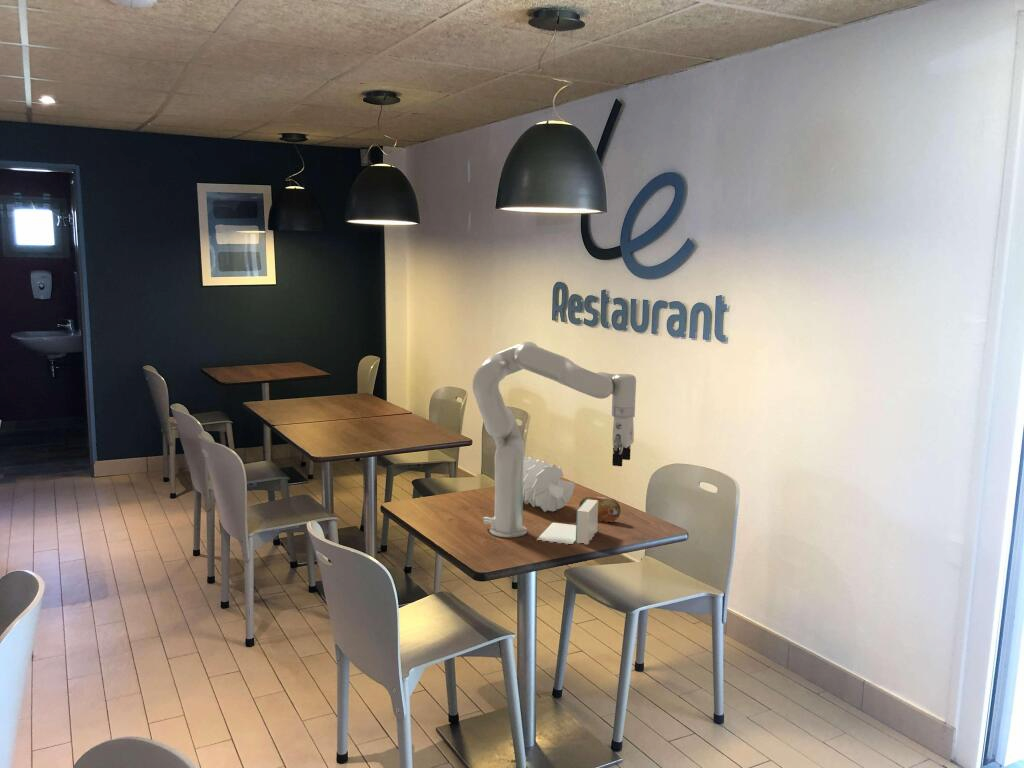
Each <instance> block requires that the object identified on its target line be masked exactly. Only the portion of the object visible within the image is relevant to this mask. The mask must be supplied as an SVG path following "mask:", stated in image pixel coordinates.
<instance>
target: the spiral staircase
mask: <svg viewBox="0 0 1024 768" xmlns="http://www.w3.org/2000/svg"><path fill="white" fill-rule="evenodd" d="M562 470H563V469H562V467H561V466H556V464H554V463H553V462H552V463H550V464H549V463H548V462H547V461H546V460H542V461H540V459H534V458H532V457H531V456H529V457H527V456H526V455H525V454H524V464H523V504H524V505H526V504H527V505H528V504H530V505H531V506H532V507H533V508H535V507H540V508H541V510H542V511H543V512H544V513H547V511H549V512H554V511H556V512H557V510H559V509H562V508H564V507H565V506H567V503H568V501H570V500H571V498H572V497H573V493H574V490H575V486H576V483H575V482H572V481H566V480H562V479H561V478H563V477H564V474H563V471H562Z"/></svg>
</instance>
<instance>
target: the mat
mask: <svg viewBox="0 0 1024 768" xmlns="http://www.w3.org/2000/svg"><path fill="white" fill-rule="evenodd" d="M538 540H542V541H541V542H545V541H549V542H548V543H553V542H557V543H556V544H561V543H565V544H564V545H568V544H573V545H574V543H576V524H567V523H561V522H552V523H551V524H550V525H549V526H548V527H547V528H546V529H545V530H544V531H543V532H542V533H541V534H540V535H539V536H538V537H537V538H536V541H538Z"/></svg>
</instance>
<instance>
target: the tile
mask: <svg viewBox="0 0 1024 768" xmlns="http://www.w3.org/2000/svg"><path fill="white" fill-rule="evenodd" d="M575 520H576V521H575V525H576V541H575V543H576V542H577V543H576V544H580V543H584V544H583V545H589V544H590V542H591V541H592V539H593V538H594V536H595V535H596V534H597V532H598V522H599V521H598V500H590V499H586V501H585V502H584V503H583V504H582V505H581V506H580V507H579V506H578V509H577V510H576V519H575ZM595 533H596V534H595ZM594 534H595V535H594ZM592 537H593V538H592ZM590 540H591V541H590ZM589 541H590V542H589Z"/></svg>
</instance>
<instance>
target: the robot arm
mask: <svg viewBox="0 0 1024 768" xmlns="http://www.w3.org/2000/svg"><path fill="white" fill-rule="evenodd" d="M521 370H526V371H528V372H530V373H533V374H537V375H539V376H542V377H544V378H546V379H548V380H552V381H554V382H557V383H558V384H561V385H563V386H565V387H568V388H570V389H573V390H575V391H577V392H580V393H581V394H585V395H588V396H590V397H592V398H595V399H600V400H601V399H602V400H604V399H607V398H608V397H609V398H610V396H612V399H611V403H612V404H611V417H613V422H612V423H613V426H612V446H613V447H612V466H614V467H623V461H624V460H625V461H629V460H630V461H631V451H632V450H631V449H632V447H631V446H632V445H633V443H634V437H635V436H634V434H635V433H634V431H635V430H634V428H635V427H634V425H635V424H634V418H635V415H636V395H637V394H636V391H637V388H636V387H637V379H636V378H637V377H636V376H635V375H634V374H630V373H608V372H603V371H601V372H594V371H591V370H589V369H586V368H584V367H582V366H580V365H578V364H576V363H574V362H573V361H572V360H571V359H569V358H567V357H565V356H564V355H561V354H557V353H555V352H552V351H550V350H547V349H544V348H542V347H540V346H538V345H537V344H536V343H534V342H532V341H524V342H521V343H518V344H516V345H514V346H512V347H509V348H506V349H505V350H501V351H499V352H497V353H494V354H492V355H490V356H489V357H487V358H486V359H485V360H484V361H483V363H482V364H481V365H480V366H479V367H478V368H477V370H476V372H475V374H474V375H473V379H472V391H473V394H474V399H475V401H476V403H477V407H478V410H479V413H480V416H481V418H482V419H481V420H482V421H483V424H484V427H485V430H486V432H487V434H488V435H489V436H490V437H492V438H493V441H494V444H495V447H496V449H495V453H494V516H492V517H490V516H483V520H482V522H483V524H484V525H490V527H489V533H490V534H492V535H493V536H496V537H499V538H511V539H512V538H519V537H522V536H525V535H526V534H527V533H528V532H527V531H528V529H527V526H525V525H524V524H523V514H524V513H523V512H524V511H523V509H524V508H523V507H524V502H523V464H524V455H525V453H526V444H525V441H524V440H523V436H522V433H521V431H520V428H519V425H518V423H517V420H516V417H515V415H514V414H513V413H514V412H512V410H511V409H510V408H508V407H507V406H506V405H505V402H504V398H503V396H502V393H501V392H500V385H499V384H500V383H501V381H503V380H504V378H506V377H508V376H510V375H511V374H514V373H517V372H519V371H521Z"/></svg>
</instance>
